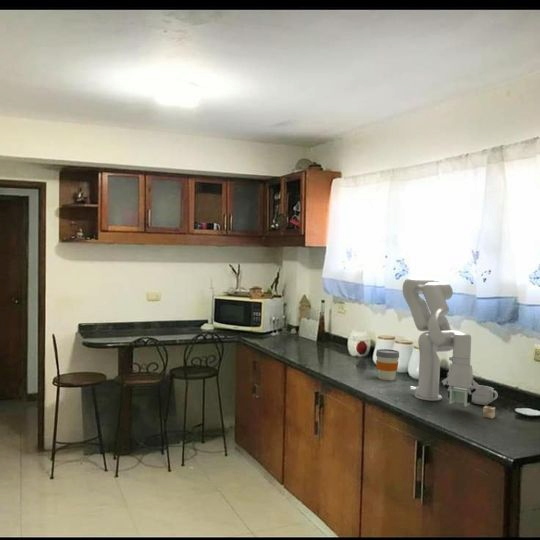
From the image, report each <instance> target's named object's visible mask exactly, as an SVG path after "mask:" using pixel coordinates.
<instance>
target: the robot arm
mask: <svg viewBox="0 0 540 540" xmlns="http://www.w3.org/2000/svg"><path fill="white" fill-rule="evenodd" d="M453 294H454V292H453V288H452V286H451V284H449V283H448V282H446V281H444V280H442V279H438V278H437V277H430V276H411V277H408V278H406V279H405V280H404V281H403V283H402V295H403V298H404V299H405V302H406V303H407V305H408V308H409V311H410V313H411V316H412V318H413V321H414V325H415V327H416V329H417V330H418V332H419V331H420V332H422V333H421V334H420V335H419V337H418V338H417V339H418V341H417V343H418V348H419V349H418V351H419V369H418V384H417V385H418V386H412V385H410V386H409V390H410V391H411V392H414V397H415V398H416V399H419V400H422V401H428V402H429V401H431V402H437V401H441V400H443V396H442V395H441V394H439V391H440V376H441V375H440V374H441V372H440V371H441V359H440V357H439V355H438V353H439V352H451V351H452V357H450V356H449V358H448V360H449V361H450V362H451V363H449V368H448V374H447V377H445V378H444V379H442V380H441V383H442V384H443V386H444V387H445V388H446V390H447V393H448V394H447V395H448V396H447V397H448V400H450V389H451V388H453V387H458V388H465V389H467V391H468V396H467V403H471V402H472V393H473V392H475V391H476V390H477V389H478V388H479V387H480V386H479V385H480V384H479V383H477V381H475V380H474V372H473V366H472V364H471V352H472V336H471V334H469V333H467V332H466V333H465V332H461V331H459V330H452V328H451V326H450V323H449V320H448V318H447V316H446V315H447V314H448V313H449V312H450V308H449V305H448V303H447V301H446V300H450V299H451V298H452V297H453ZM421 295H423V297H424V298H423V297H422V296H421ZM473 385H474V386H475V388H474V389H472V388H471V387H472V386H473Z"/></svg>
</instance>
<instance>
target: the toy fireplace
mask: <svg viewBox="0 0 540 540" xmlns="http://www.w3.org/2000/svg"><path fill="white" fill-rule="evenodd" d="M467 396H468V391H467V389H466V388H459V387H453V388H451V389H450V400H449V399H448V400H449V404H450V405H452V404H454V403H460V404H461V403H462V404H464V405H463V406H464V407H467V406H469V405H470V403H471V402H470V403H467Z"/></svg>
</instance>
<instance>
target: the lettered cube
mask: <svg viewBox="0 0 540 540" xmlns="http://www.w3.org/2000/svg"><path fill="white" fill-rule="evenodd" d="M482 409H483V410H482V412H483V413H482V417H483V418H488V419H494V418H495V417H496V407H494V406H490V405H484V406H483V408H482Z"/></svg>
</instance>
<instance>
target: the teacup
mask: <svg viewBox="0 0 540 540" xmlns="http://www.w3.org/2000/svg"><path fill="white" fill-rule="evenodd" d="M478 385H479V386H480V387H479V388H478V389H477V390H476V391H475V392H473V393H472V401H471V402H472V403H473V404H475V405H476V404H477V405H481V406H482V405H483V406H489V404H490V403H492V402H493V401H495V400H497V398H498V397H499V395H498V394H499V393H498V392H497V391H496V390H494V389H495V388H493V387H491V386H488V385H481V384H478ZM471 388H472V389H474V388H475V386H474V385H473V386H472V387H471Z"/></svg>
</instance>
